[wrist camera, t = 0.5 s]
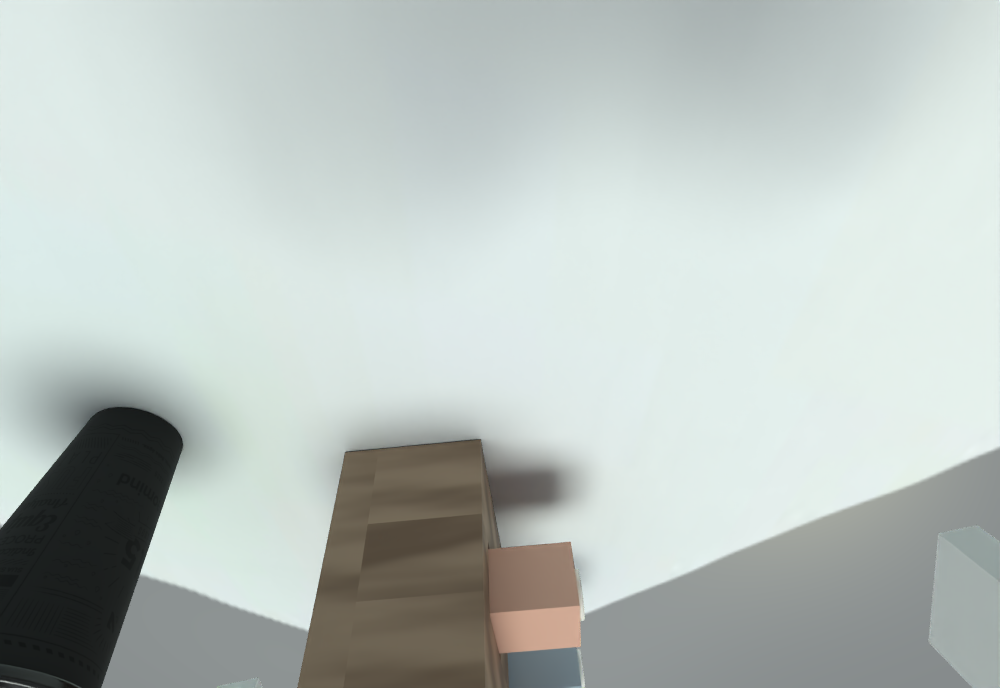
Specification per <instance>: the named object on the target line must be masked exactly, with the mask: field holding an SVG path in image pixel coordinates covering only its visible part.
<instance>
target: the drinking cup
mask: <svg viewBox="0 0 1000 688" xmlns="http://www.w3.org/2000/svg"><path fill="white" fill-rule="evenodd" d="M182 447H183V444H182V439H181V437H180V435H179V433H178V432H177V431H176V430H175V428H173V427H172V426H171V425H170V424H169V423H167V422H166V421H164V420H163V419H161V418H159V417H157V416H155V415H153V414H150V413H148V412H145V411H141V410H137V409H131V408H111V409H106V410H103V411H100V412H98V413H97V414H95V415H94V416H93V417H92V418H91V419H90V420H89V421H88V423H87V424H86V425H85V426H84V427H83V429H82V430H81V431H80V432H79V434H78V435H77V436H76V437H75V438H74V440H73V441H72V442H71V443H70V445H69V446H68V447H67V448H66V449H65V451H64V452H63V453H62V454H61V456H60V457H59V458H58V459H57V461H56V462H55V463H54V464H53V465H52V467H51V468H50V469H49V470H48V472H47V473H46V474H45V475H44V476H43V478H42V479H41V480H40V481H39V483H38V484H37V485H36V486H35V487H34V489H33V490H32V491H31V492H30V494H29V495H28V496H27V497H26V498H25V500H24V501H23V502H22V503H21V505H20V506H19V507H18V508H17V509H16V511H15V512H14V513H13V514H12V516H11V517H10V518H9V519H8V520H7V522H6V523H5V524H4V525H3V527H2V528H1V529H0V688H101V686H102V683H103V681H104V677H105V675H106V672H107V669H108V666H109V663H110V660H111V657H112V654H113V651H114V648H115V645H116V642H117V639H118V636H119V633H120V630H121V628H122V624H123V622H124V619H125V616H126V613H127V610H128V607H129V604H130V601H131V598H132V595H133V592H134V589H135V586H136V583H137V581H138V578H139V575H140V572H141V569H142V566H143V563H144V560H145V557H146V554H147V551H148V548H149V545H150V542H151V540H152V537H153V534H154V531H155V528H156V525H157V522H158V519H159V516H160V513H161V510H162V507H163V504H164V501H165V498H166V495H167V493H168V490H169V487H170V484H171V481H172V478H173V475H174V472H175V469H176V466H177V463H178V460H179V457H180V454H181V451H182Z"/></svg>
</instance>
